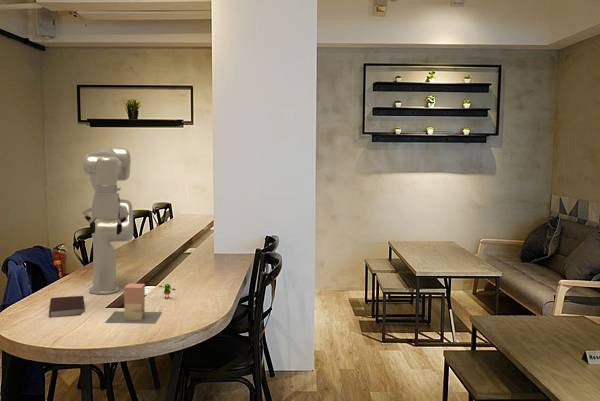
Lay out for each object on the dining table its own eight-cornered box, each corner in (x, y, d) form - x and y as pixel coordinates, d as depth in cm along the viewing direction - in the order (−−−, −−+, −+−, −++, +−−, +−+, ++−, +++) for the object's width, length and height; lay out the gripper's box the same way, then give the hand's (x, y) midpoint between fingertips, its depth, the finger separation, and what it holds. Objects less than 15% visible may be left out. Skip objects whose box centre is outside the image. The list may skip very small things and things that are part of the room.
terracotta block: (128, 299, 203) (128, 283, 203) (144, 299, 204) (144, 283, 203) (124, 303, 197) (124, 287, 197) (140, 303, 198) (141, 287, 197)
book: (48, 318, 200) (48, 310, 199) (50, 304, 217) (50, 296, 217) (85, 316, 205) (85, 308, 204) (83, 302, 222) (84, 294, 222)
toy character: (169, 304, 225) (169, 288, 224) (149, 299, 231) (149, 283, 230) (187, 298, 234) (188, 283, 234) (167, 293, 240) (167, 279, 240)
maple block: (128, 314, 204) (128, 299, 203) (144, 314, 204) (144, 299, 204) (124, 319, 198) (124, 303, 197) (141, 319, 198) (141, 303, 198)
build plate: (114, 313, 208) (114, 311, 207) (162, 314, 209) (162, 312, 209) (104, 325, 194) (104, 322, 194) (155, 326, 195) (155, 323, 195)
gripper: (131, 189, 212) (130, 232, 214) (86, 188, 211) (86, 231, 212) (126, 191, 205) (126, 235, 206) (80, 189, 203) (79, 234, 205)
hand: (105, 233), depth 209 cm, fingers open, 9 cm apart
